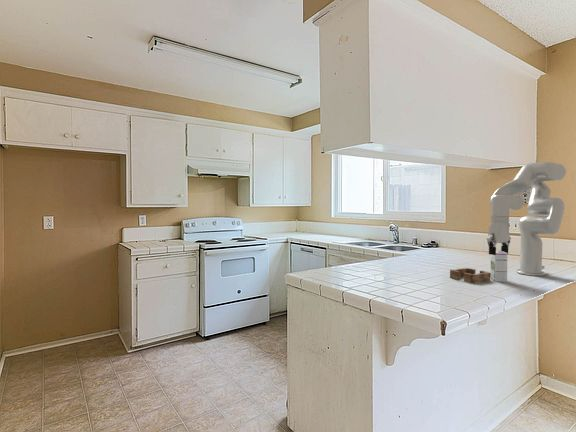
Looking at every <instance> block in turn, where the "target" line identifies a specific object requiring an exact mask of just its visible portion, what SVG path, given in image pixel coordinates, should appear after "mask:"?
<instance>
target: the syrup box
mask: <svg viewBox="0 0 576 432" xmlns="http://www.w3.org/2000/svg"><path fill="white" fill-rule="evenodd" d="M490 273H491V274H490V280H492V281H495V282H501V283H502V282H504V283H505V282H506V283H507V282H508V254H507V253H506V252H503V251H501V250H496V255H490Z"/></svg>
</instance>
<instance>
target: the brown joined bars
mask: <svg viewBox="0 0 576 432" xmlns="http://www.w3.org/2000/svg"><path fill="white" fill-rule="evenodd" d="M462 277H463V282H465V283H469V284H477V283H484V282H490V281H491V272H489V271H485V270H479V272H478V273H476V269H474V268H470V267H469V268H468V267H461V268H454V269H449V278H451V280H452V279H453V280H457V281H458V280H461V278H462Z"/></svg>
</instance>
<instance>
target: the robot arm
mask: <svg viewBox="0 0 576 432" xmlns="http://www.w3.org/2000/svg"><path fill="white" fill-rule="evenodd" d="M566 174H567V170H566V167H565V166H564V165H562V164H561V163H555V162H551V161H542V162H531V163H527V164H524V165H523V166H522V167H521V168H520V170H519V171H518V173H517V174H516V175H515V177H514V178H513V179H512V180H511V181H509V182H507V183H505V184H504V185H502V186H500V187H499V188H497V189H496V190H495V191H494V193H493V194H492V196H491V197H490V199H489V205H490V207H491V210H490V223H489V227H488V234H487V235H488V236H487V237H486V241H487V244H488V255H490V256H491V255H496V251H497V244H501V246H500V251H503V252H506V253H507V255H508V254H509V247H510V243H511V239H512V237H511V236H510V225H509V223H510V211H518V210H521V209H522V207H523V206H524V199H523V198H522V196H520V195H517V194H522V193H524V192H527V191H529V190H530V189H531V191H530V196H529V199H528V203H527V207H526V211H527V212H528V214H530V215H525V216H522V217H521V218H520V219H519V220H518V226H519V227H518V228H519V232H520V255H519V256H520V258H519V268H518V269H516V273H517V274H521V275H527V276H535V277H536V276H537V277H538V276H539V277H542V276H546V272H544V271H542V270H544V269H546V267H545V265H543V241H542V238H541V236H540V235H556V234H557V233H559V230H560V227H561V224H562V221H563V220H562V219H563V217H564V213H565V212H564V211H565V203H564V200H563V199H562V198H560V197H550V196H551V189H550V187H549V186H548V185H547V184H546V183H545V182H551V181H552V182H553V181H555V182H556V181H560V180H563V179H564V178H565V177H566ZM539 234H540V235H539Z"/></svg>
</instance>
